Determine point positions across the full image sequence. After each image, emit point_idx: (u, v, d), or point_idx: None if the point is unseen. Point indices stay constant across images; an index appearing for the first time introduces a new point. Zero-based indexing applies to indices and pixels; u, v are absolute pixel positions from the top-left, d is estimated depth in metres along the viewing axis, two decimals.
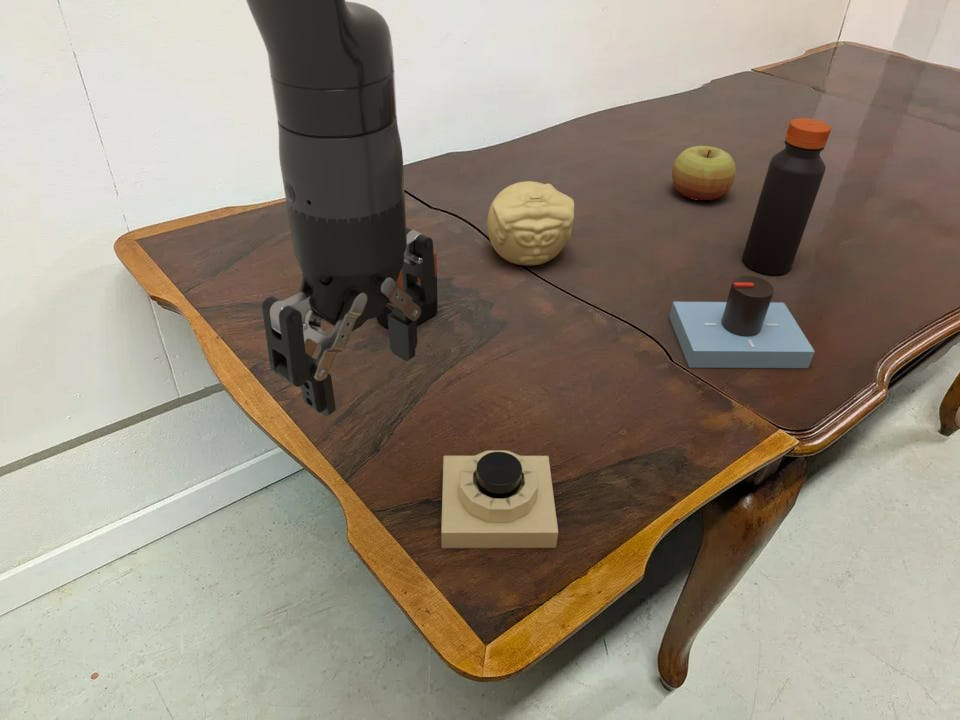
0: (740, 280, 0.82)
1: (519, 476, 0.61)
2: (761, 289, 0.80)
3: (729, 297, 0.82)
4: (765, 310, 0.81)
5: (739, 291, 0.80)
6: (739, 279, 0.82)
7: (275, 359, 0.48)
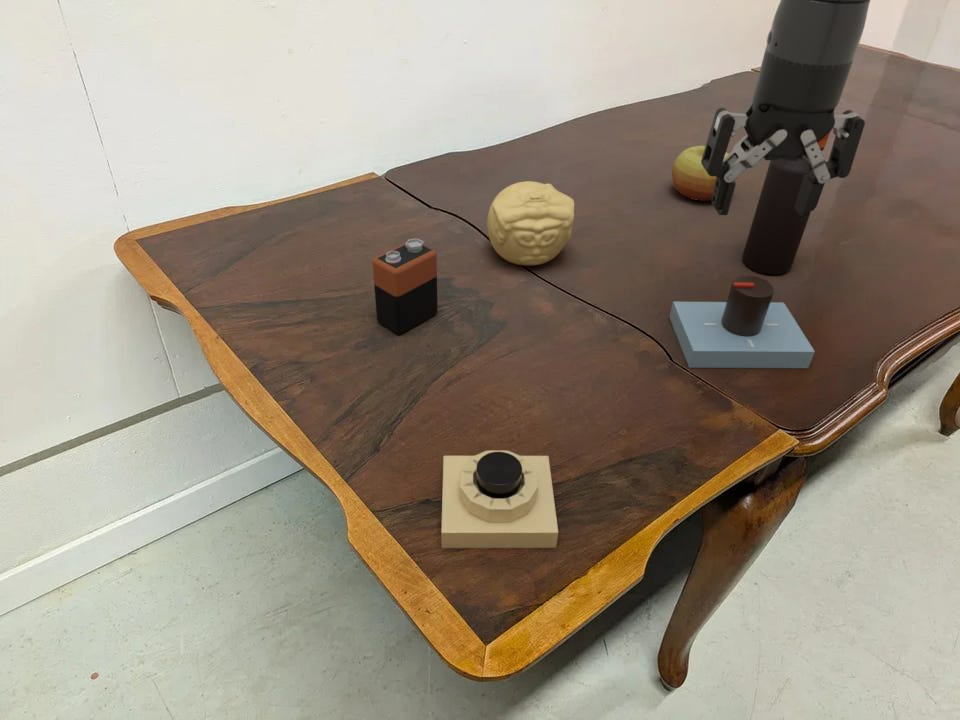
0: (740, 280, 0.82)
1: (519, 476, 0.61)
2: (761, 289, 0.80)
3: (729, 297, 0.82)
4: (765, 310, 0.81)
5: (739, 291, 0.80)
6: (739, 279, 0.82)
7: (706, 154, 0.71)
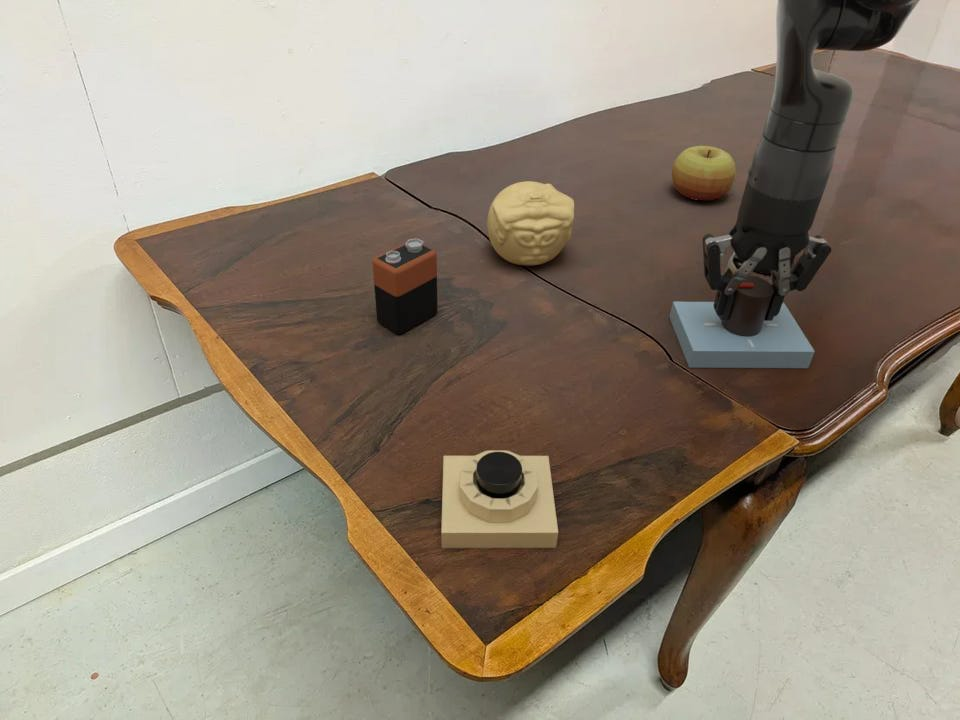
0: None
1: (519, 476, 0.61)
2: (761, 289, 0.80)
3: None
4: (765, 310, 0.81)
5: (739, 291, 0.80)
6: None
7: (706, 271, 0.80)
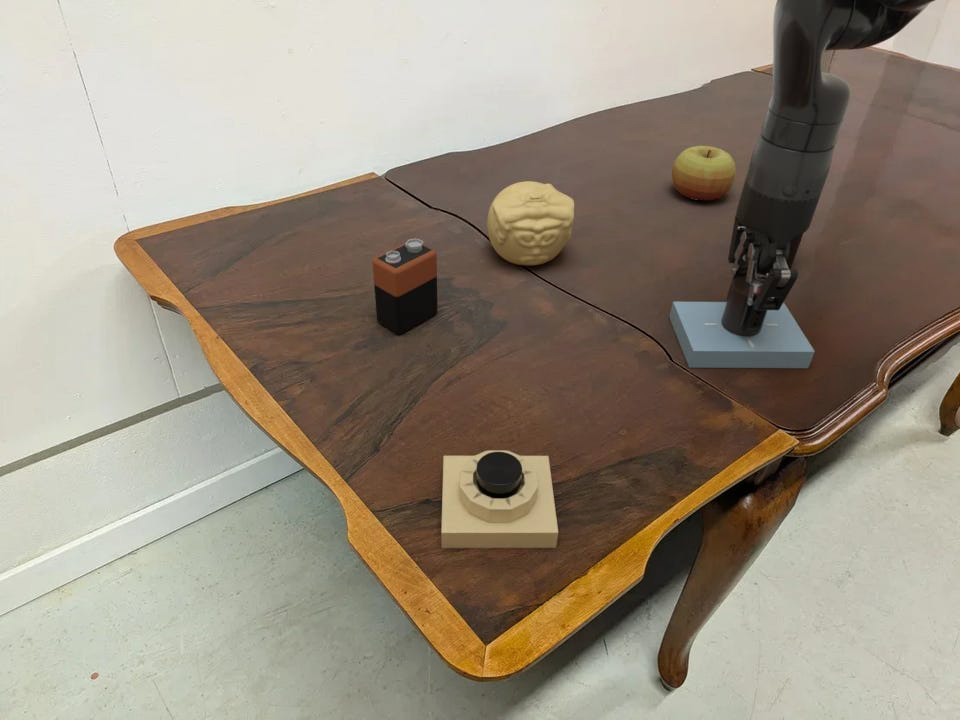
0: (747, 291, 0.80)
1: (519, 476, 0.61)
2: None
3: None
4: None
5: None
6: (745, 292, 0.80)
7: None
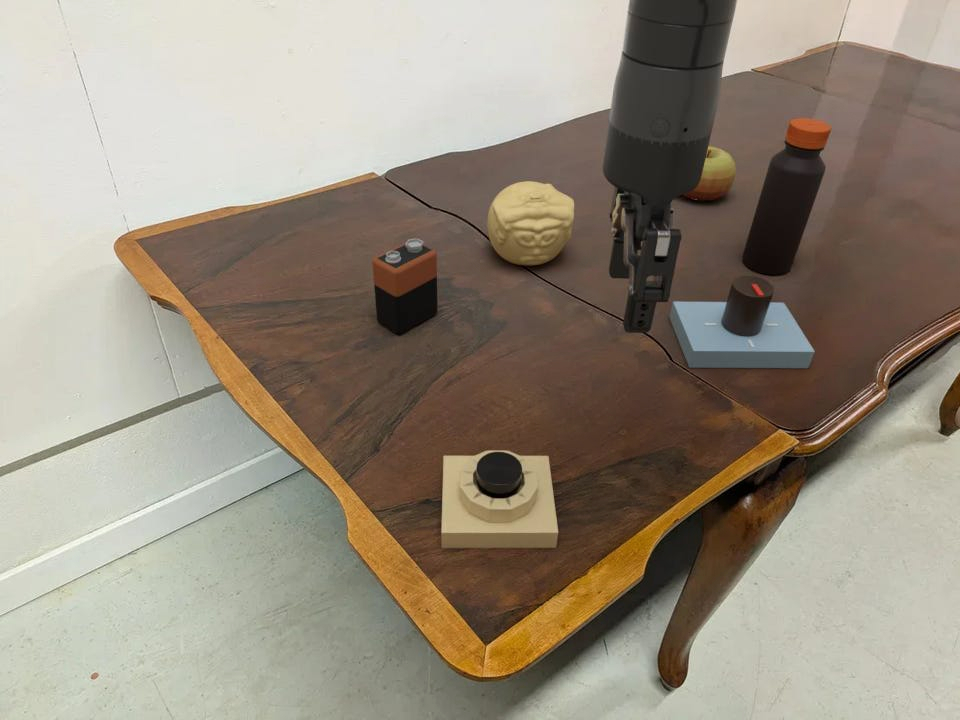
0: (747, 291, 0.80)
1: (519, 476, 0.61)
2: (756, 282, 0.82)
3: (755, 309, 0.80)
4: None
5: (769, 295, 0.80)
6: (745, 292, 0.80)
7: None
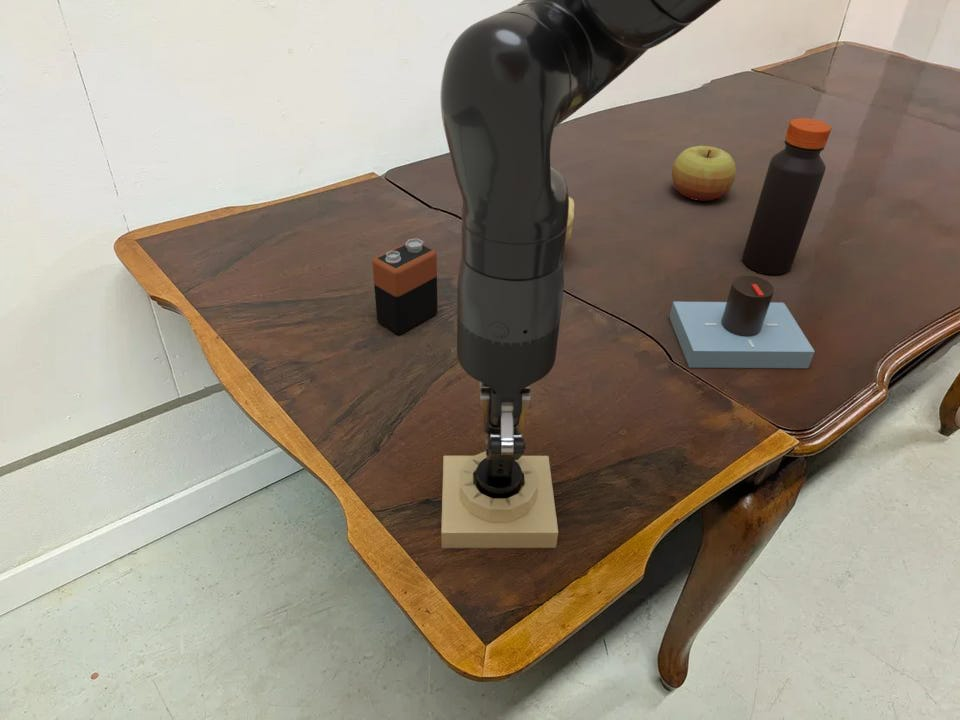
0: (747, 291, 0.80)
1: (519, 479, 0.61)
2: (756, 282, 0.82)
3: (755, 309, 0.80)
4: None
5: (769, 295, 0.80)
6: (745, 292, 0.80)
7: None
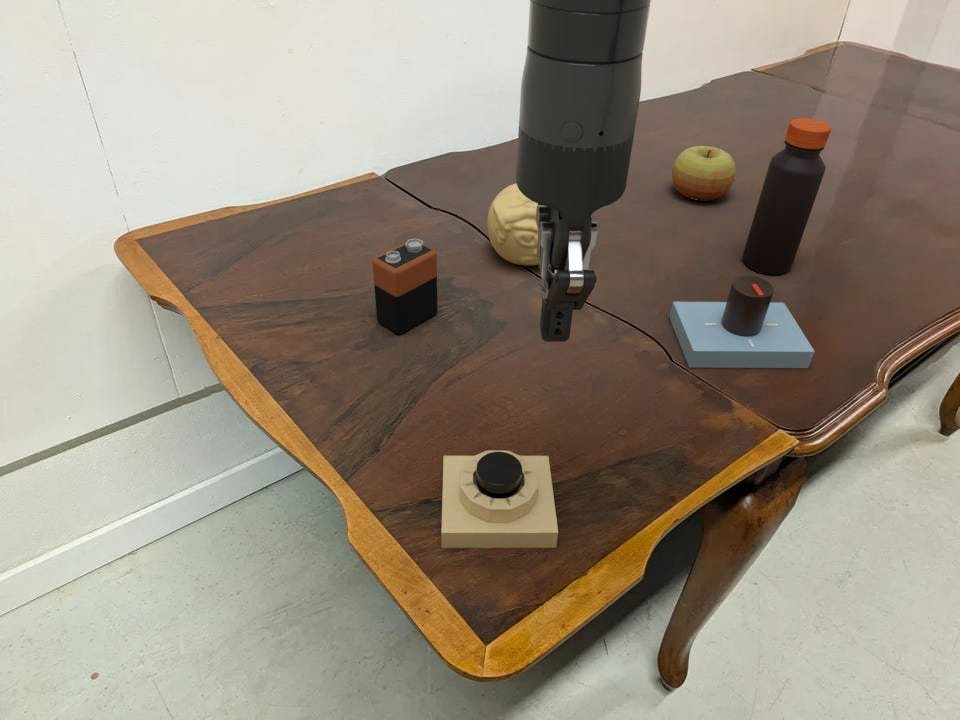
0: (747, 291, 0.80)
1: (519, 476, 0.61)
2: (756, 282, 0.82)
3: (755, 309, 0.80)
4: None
5: (769, 295, 0.80)
6: (745, 292, 0.80)
7: None
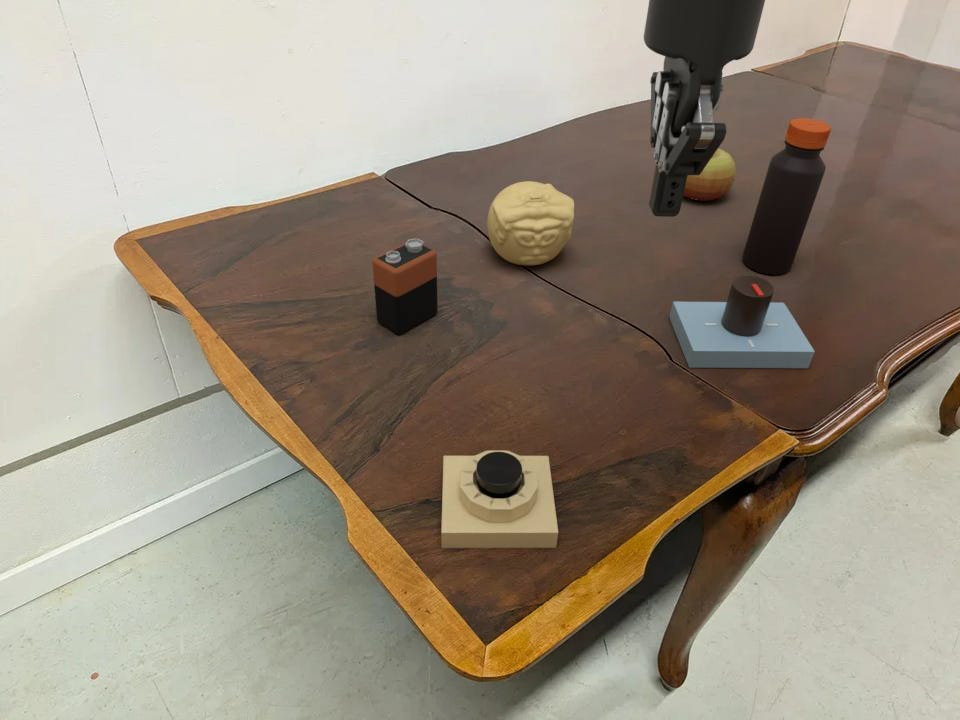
0: (747, 291, 0.80)
1: (519, 476, 0.61)
2: (756, 282, 0.82)
3: (755, 309, 0.80)
4: None
5: (769, 295, 0.80)
6: (745, 292, 0.80)
7: None
